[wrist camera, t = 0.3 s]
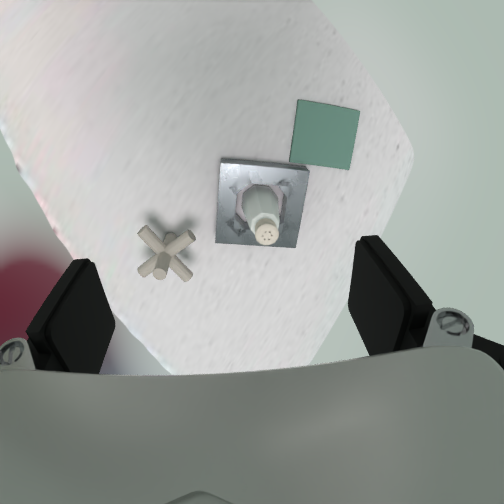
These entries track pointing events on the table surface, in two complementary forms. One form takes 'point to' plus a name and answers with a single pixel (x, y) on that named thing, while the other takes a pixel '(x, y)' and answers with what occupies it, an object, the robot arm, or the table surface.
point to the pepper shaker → (262, 213)
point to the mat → (323, 135)
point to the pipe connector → (165, 254)
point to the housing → (256, 172)
